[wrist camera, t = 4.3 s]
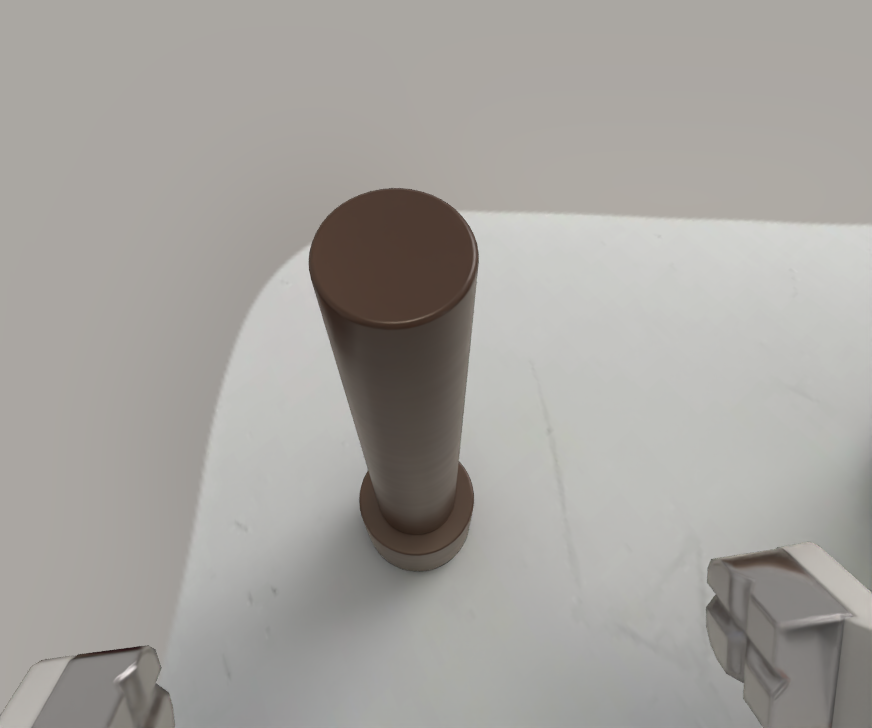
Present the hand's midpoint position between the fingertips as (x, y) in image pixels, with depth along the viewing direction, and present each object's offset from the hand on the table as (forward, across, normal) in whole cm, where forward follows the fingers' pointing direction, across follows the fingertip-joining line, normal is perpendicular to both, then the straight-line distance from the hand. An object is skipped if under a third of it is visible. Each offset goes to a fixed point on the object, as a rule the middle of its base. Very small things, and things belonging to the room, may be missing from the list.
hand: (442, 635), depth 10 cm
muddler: (+13, 0, +6) cm, 14 cm away
